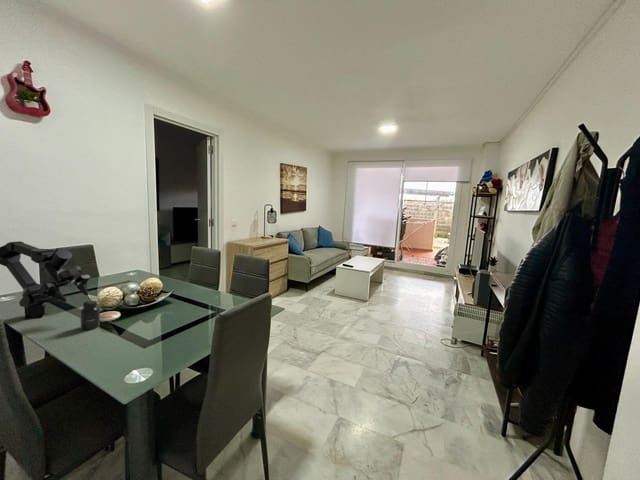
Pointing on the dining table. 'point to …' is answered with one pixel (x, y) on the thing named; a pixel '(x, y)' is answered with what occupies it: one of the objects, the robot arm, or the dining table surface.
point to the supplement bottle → (90, 315)
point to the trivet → (109, 316)
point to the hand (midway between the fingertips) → (76, 298)
